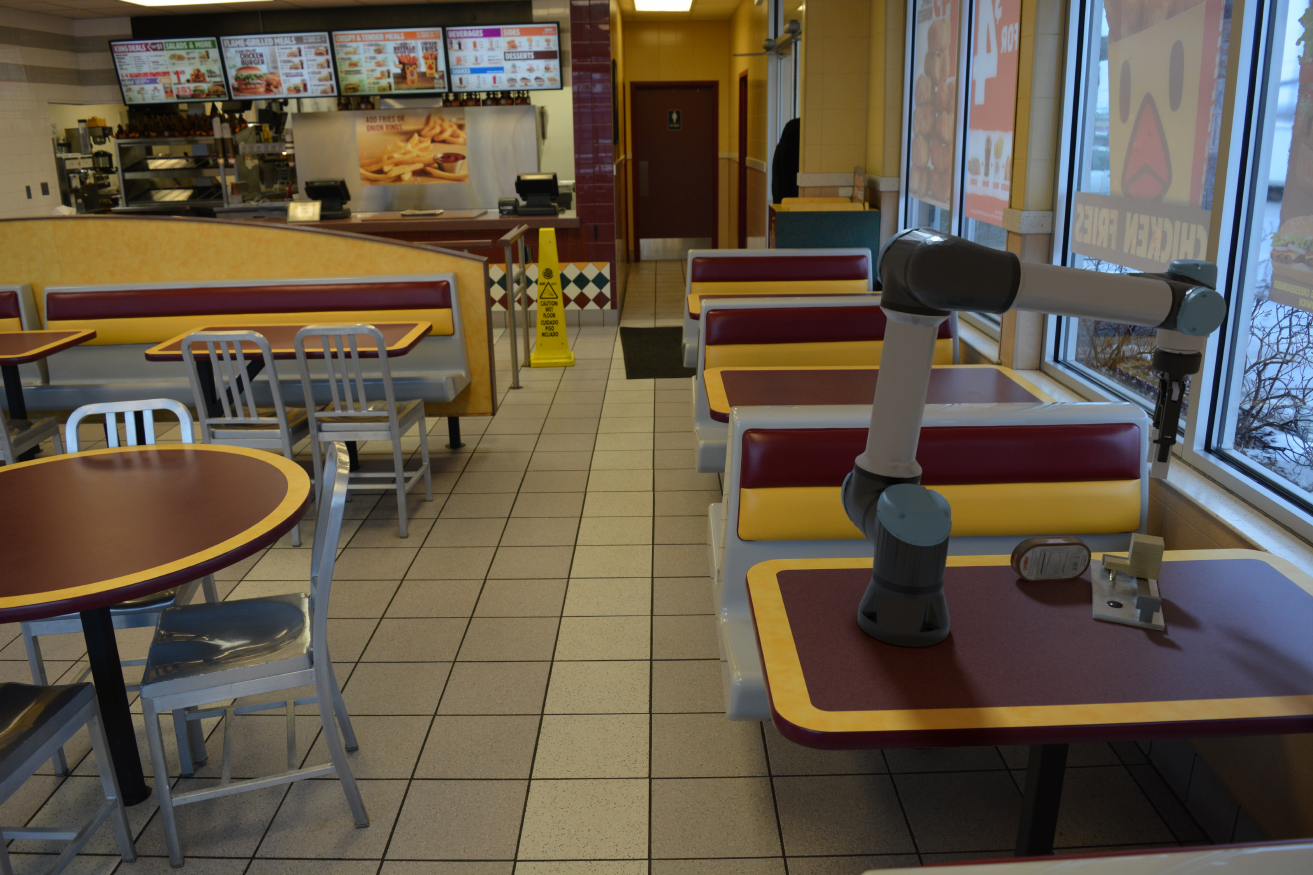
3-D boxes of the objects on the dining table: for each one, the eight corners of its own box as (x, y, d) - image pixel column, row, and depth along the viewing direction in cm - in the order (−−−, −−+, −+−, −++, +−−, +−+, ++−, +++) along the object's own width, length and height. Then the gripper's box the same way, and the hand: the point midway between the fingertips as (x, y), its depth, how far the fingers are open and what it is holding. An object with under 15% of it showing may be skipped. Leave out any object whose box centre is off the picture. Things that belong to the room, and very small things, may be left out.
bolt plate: (1092, 618, 166) (1093, 612, 165) (1090, 563, 187) (1091, 558, 187) (1163, 631, 162) (1164, 625, 161) (1153, 573, 183) (1154, 568, 183)
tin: (1081, 573, 183) (1088, 533, 180) (1090, 581, 180) (1097, 540, 177) (1006, 577, 181) (1012, 536, 178) (1014, 584, 178) (1020, 543, 175)
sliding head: (1102, 582, 176) (1110, 537, 173) (1102, 573, 180) (1109, 529, 177) (1155, 591, 173) (1164, 545, 170) (1154, 582, 176) (1162, 537, 174)
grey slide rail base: (1104, 614, 165) (1108, 590, 163) (1100, 560, 186) (1104, 538, 185) (1156, 624, 162) (1161, 599, 160) (1147, 567, 183) (1151, 545, 182)
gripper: (1210, 363, 158) (1185, 492, 165) (1195, 339, 177) (1173, 455, 184) (1159, 359, 161) (1136, 485, 168) (1150, 336, 179) (1130, 450, 186)
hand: (1156, 469), depth 176 cm, fingers open, 8 cm apart
